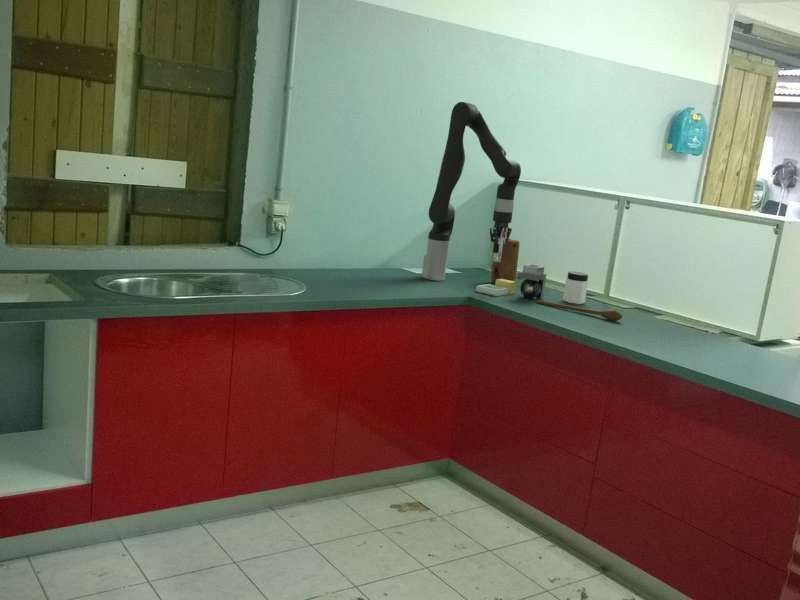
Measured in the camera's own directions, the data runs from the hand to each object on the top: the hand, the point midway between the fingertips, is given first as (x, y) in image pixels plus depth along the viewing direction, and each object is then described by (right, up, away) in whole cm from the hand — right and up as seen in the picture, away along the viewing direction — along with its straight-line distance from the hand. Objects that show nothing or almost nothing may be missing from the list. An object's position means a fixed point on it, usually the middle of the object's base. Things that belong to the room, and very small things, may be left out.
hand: (497, 252), depth 325 cm
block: (+5, -13, +28) cm, 31 cm away
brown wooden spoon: (+28, -25, -17) cm, 41 cm away
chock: (+4, -16, +9) cm, 19 cm away
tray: (-2, -17, +3) cm, 17 cm away
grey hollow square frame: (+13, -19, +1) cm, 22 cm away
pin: (0, -4, +1) cm, 4 cm away
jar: (+32, -20, +5) cm, 38 cm away
